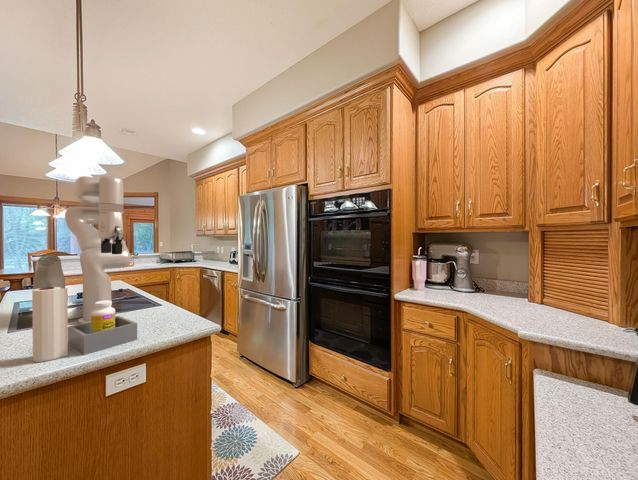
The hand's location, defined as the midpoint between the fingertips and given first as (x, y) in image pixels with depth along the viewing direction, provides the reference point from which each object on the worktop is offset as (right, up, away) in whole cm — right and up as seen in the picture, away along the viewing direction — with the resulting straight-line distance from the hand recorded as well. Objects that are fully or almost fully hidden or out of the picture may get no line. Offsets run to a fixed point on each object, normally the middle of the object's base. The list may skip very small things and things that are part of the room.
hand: (111, 253), depth 104 cm
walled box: (+5, -31, -10) cm, 32 cm away
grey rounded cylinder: (-41, -30, +17) cm, 53 cm away
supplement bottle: (+5, -30, -10) cm, 31 cm away
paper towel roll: (-2, -31, -23) cm, 38 cm away
